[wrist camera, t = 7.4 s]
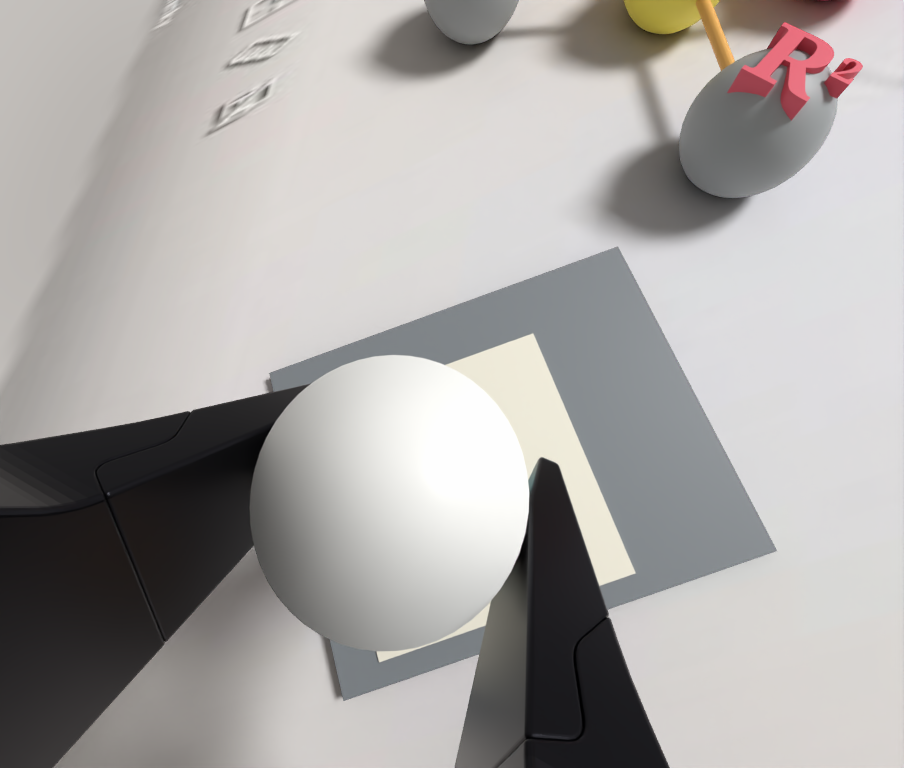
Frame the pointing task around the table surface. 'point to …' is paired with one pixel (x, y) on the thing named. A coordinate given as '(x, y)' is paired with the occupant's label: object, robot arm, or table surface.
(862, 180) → the table surface
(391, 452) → the white-capped teal tube
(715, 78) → the molecule model
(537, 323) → the drawing board
